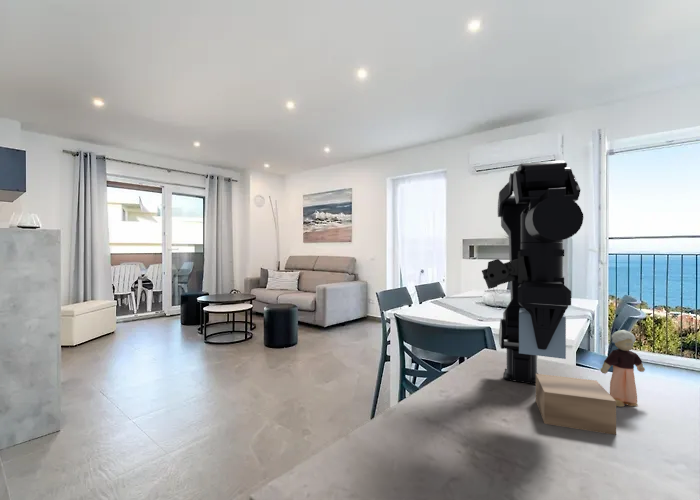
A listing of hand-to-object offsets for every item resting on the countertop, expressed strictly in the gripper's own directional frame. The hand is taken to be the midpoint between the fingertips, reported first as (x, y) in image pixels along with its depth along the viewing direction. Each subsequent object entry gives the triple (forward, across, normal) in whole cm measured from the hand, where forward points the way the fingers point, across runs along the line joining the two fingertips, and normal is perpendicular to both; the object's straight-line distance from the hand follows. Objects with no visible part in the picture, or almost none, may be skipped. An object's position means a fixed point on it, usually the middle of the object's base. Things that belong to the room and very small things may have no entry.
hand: (541, 344), depth 54 cm
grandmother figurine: (+12, -14, +13) cm, 23 cm away
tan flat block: (+12, -4, +4) cm, 13 cm away
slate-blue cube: (+1, 0, 0) cm, 1 cm away
